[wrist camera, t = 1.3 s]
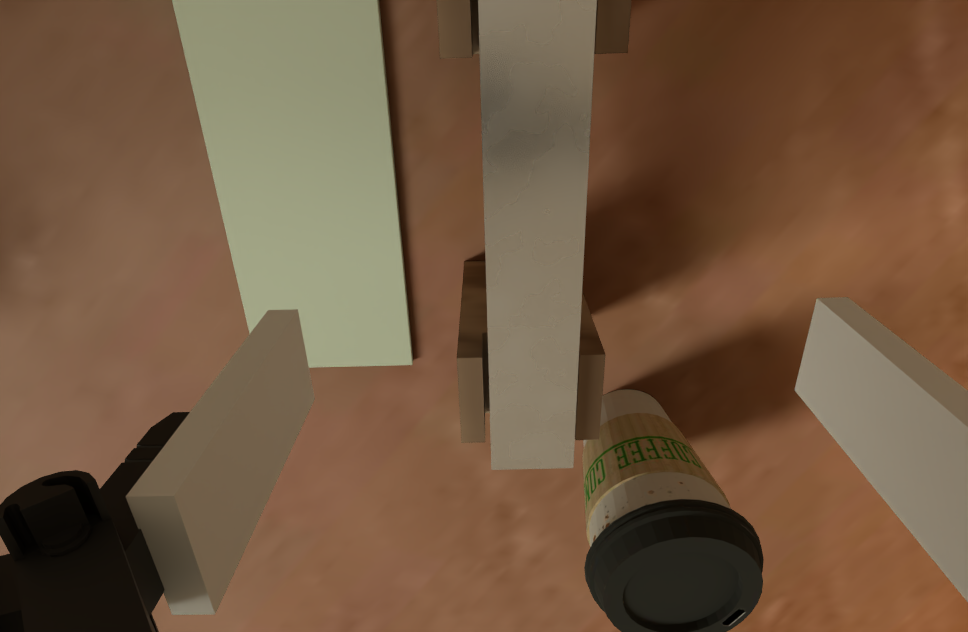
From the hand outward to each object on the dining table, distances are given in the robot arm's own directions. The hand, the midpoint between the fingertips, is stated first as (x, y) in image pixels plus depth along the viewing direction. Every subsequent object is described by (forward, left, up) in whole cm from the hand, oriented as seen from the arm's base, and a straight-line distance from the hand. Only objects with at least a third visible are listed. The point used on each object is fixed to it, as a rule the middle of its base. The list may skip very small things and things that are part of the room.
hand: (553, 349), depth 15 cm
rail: (0, 0, -13) cm, 13 cm away
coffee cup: (+8, -20, -24) cm, 32 cm away
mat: (-13, 0, -23) cm, 27 cm away
